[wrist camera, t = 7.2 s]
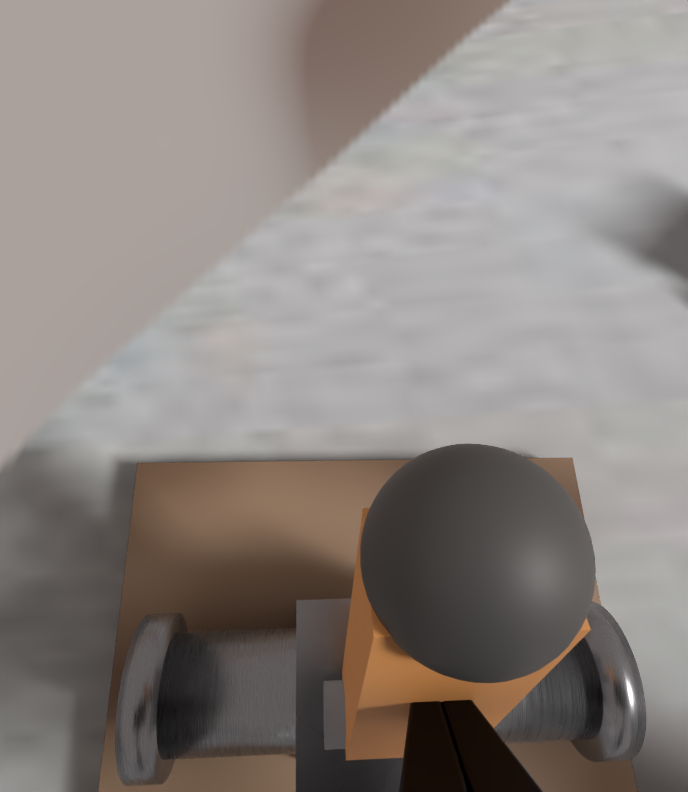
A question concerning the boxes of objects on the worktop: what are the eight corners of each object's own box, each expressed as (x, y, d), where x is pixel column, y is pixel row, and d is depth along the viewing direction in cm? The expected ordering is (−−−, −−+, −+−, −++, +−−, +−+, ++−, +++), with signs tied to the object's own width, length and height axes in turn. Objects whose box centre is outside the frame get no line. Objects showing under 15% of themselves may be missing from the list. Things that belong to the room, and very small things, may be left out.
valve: (578, 746, 16) (693, 805, 11) (156, 767, 16) (85, 841, 11) (553, 594, 18) (644, 589, 13) (170, 606, 17) (114, 605, 12)
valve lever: (486, 790, 10) (728, 621, 4) (324, 799, 10) (345, 633, 4) (460, 651, 12) (604, 396, 6) (322, 657, 12) (333, 398, 6)
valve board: (642, 923, 16) (667, 946, 15) (91, 962, 15) (74, 991, 14) (558, 465, 21) (572, 457, 20) (147, 471, 20) (137, 462, 19)
